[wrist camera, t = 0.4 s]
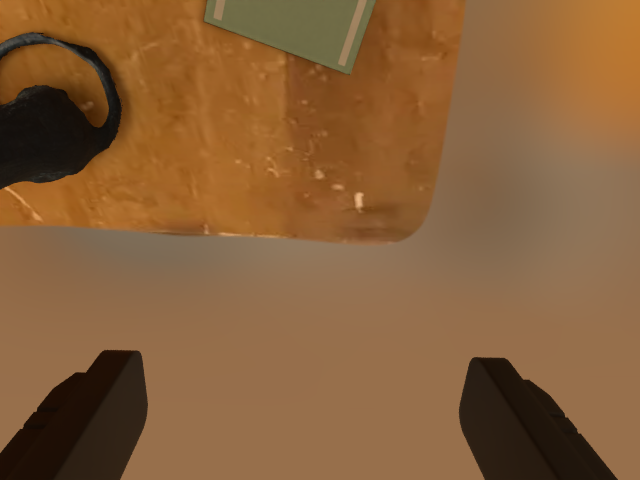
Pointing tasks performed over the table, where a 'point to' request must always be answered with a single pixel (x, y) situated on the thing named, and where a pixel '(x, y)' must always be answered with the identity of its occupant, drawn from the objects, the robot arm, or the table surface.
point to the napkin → (299, 26)
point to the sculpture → (52, 124)
